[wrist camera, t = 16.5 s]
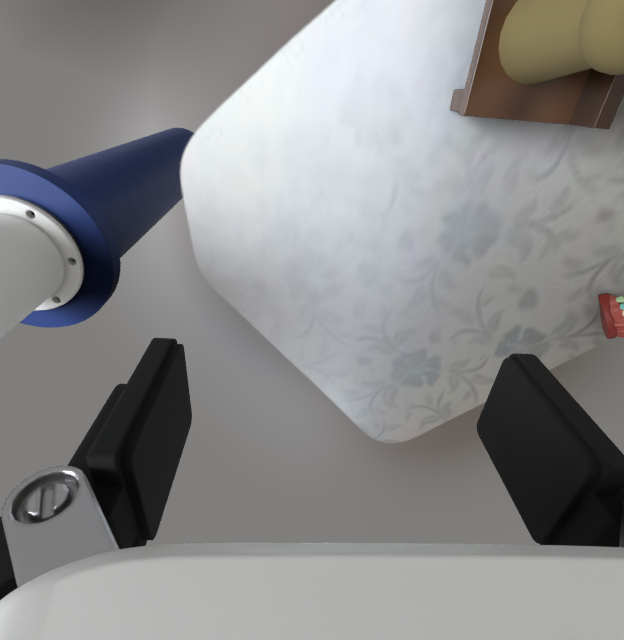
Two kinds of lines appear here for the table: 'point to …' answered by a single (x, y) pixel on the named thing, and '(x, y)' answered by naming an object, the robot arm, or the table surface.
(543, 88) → the shelf
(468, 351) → the table surface
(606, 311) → the dental model
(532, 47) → the pepper shaker
